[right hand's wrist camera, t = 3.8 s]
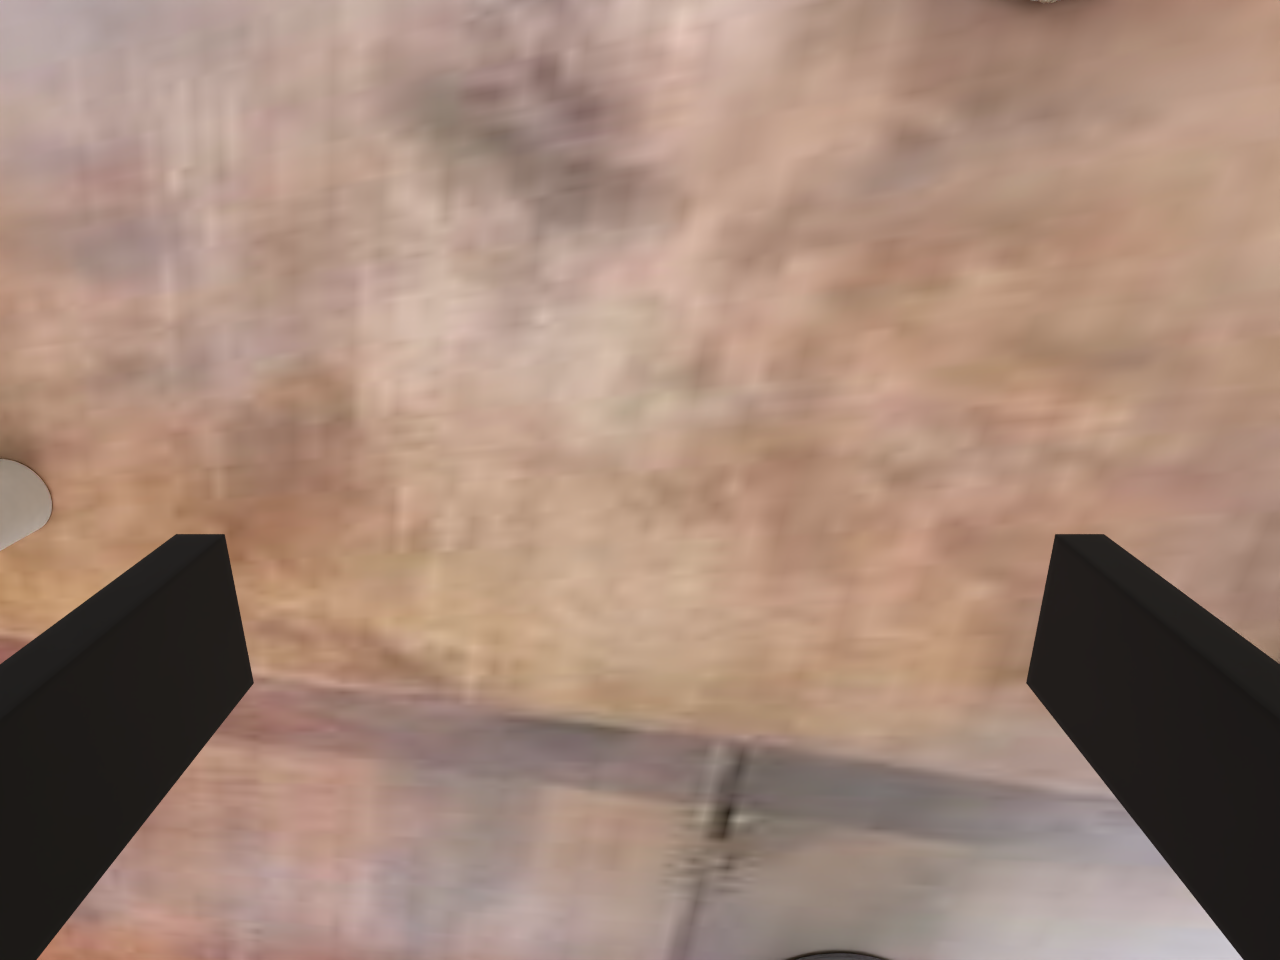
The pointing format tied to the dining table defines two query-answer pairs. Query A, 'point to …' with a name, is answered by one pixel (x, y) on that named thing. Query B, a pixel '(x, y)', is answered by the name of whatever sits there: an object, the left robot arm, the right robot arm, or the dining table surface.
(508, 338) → the dining table surface
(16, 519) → the bottle
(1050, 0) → the rock
